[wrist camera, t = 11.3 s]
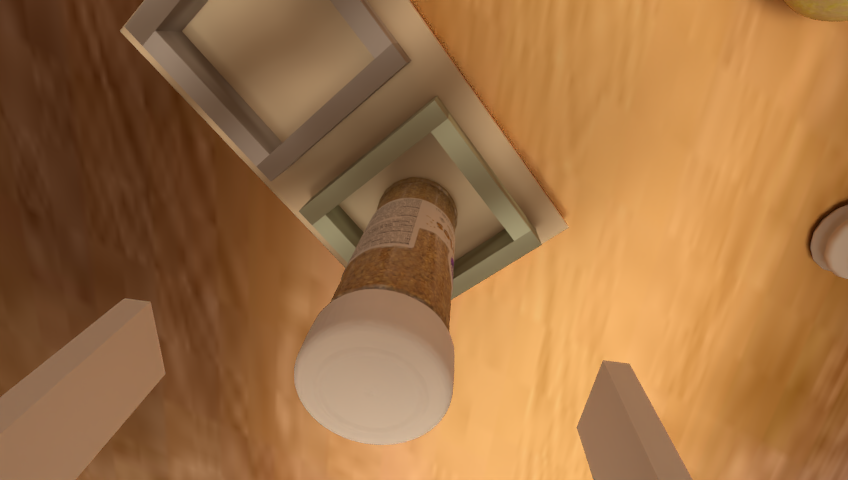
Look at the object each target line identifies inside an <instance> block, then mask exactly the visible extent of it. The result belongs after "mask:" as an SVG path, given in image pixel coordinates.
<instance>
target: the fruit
mask: <svg viewBox="0 0 848 480" xmlns="http://www.w3.org/2000/svg"><path fill="white" fill-rule="evenodd" d="M784 2H785V3H786V4H787V5H788V6H789V7H790V8H791V9H792V10H794V11H795V12H796V13H798V14H800V15H803V16H805V17H808V18H811V19H815V20H821V21H848V0H784Z"/></svg>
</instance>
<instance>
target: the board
mask: <svg viewBox="0 0 848 480" xmlns="http://www.w3.org/2000/svg"><path fill="white" fill-rule="evenodd" d="M120 32H121V33H122V34H123V35H124V36H125V37H126V38H127V39H128V40H129V41H130V42H131V43H132V44H133V45H134V46H135V48H136V49H137V50H138V51H139V52H140V53H141V54H142V55H143V56H144V57H145V58H146V59H147V60H148V61H149V62H150V63H151V64H152V65H153V66H154V67H155V69H156V70H157V71H158V72H159V73H160V74H161V75H162V76H163V77H164V78H165V79H166V80H167V81H168V82H169V83H170V84H171V85H172V86H173V87H174V89H175V90H176V91H177V92H178V93H179V94H180V95H181V96H182V97H183V98H184V99H185V100H186V101H187V102H188V103H189V104H190V105H191V106H192V107H193V108H194V110H195V111H196V112H197V113H198V114H199V115H200V116H201V117H202V118H203V119H204V120H205V121H206V122H207V123H208V124H209V125H210V126H211V127H212V128H213V129H214V131H215V132H216V133H217V134H218V135H219V136H220V137H221V138H222V139H223V140H224V141H225V142H226V143H227V144H228V145H229V146H230V147H231V148H232V149H233V150H234V152H235V153H236V154H237V155H238V156H239V157H240V158H241V159H242V160H243V161H244V162H245V163H246V164H247V165H248V166H249V167H250V168H251V169H252V170H253V171H254V173H255V174H256V175H257V176H258V177H259V178H260V179H261V180H262V181H263V182H264V183H265V184H266V185H267V186H268V187H269V188H270V189H271V190H272V191H273V192H274V194H275V195H276V196H277V197H278V198H279V199H280V200H281V201H282V202H283V203H284V204H285V205H286V206H287V207H288V208H289V209H290V210H291V211H292V212H293V214H294V215H295V216H296V217H297V218H298V219H299V220H300V221H301V222H302V223H303V224H304V225H305V226H306V227H307V228H308V229H309V230H310V231H311V232H312V233H313V235H314V236H315V237H316V238H317V239H318V240H319V241H320V242H321V243H322V244H323V245H324V246H325V247H326V248H327V249H328V250H329V251H330V252H331V253H332V254H333V256H334V257H335V258H336V259H337V260H338V261H339V262H340V263H341V264H342V265H343V266H344V267H345V268H346V266H347V264H348V262H349V260H350V258H351V257H352V255H353V253H354V251H355V249H356V247H357V245H358V243H359V241H360V239H361V237H362V235H363V233H364V231H365V229H366V227H367V226H368V224H369V222H370V220H371V218H372V216H373V215H374V214H375V212H376V211H377V207H378V204H379V201H380V199H381V197H382V195H383V194H384V192H385V190H386V189H387V188H388V187H390V186H391V185H392V184H393V183H395V182H398V181H400V180H402V179H407V178H410V177H418V178H425V179H429V180H431V181H434V182H436V183H438V184H440V185H441V186H442V187H443V188H445V189H446V190H447V191H448V193H449V194H450V196H451V197H452V199H453V200H454V202H455V205H456V209H457V213H458V215H457V226H456V229H455V232H454V233H455V254H454V268H453V291H452V297H451V300H452V299H453V298H455V297H457V296H458V295H460V294H461V293H463V292H465V291H466V290H468V289H470V288H471V287H473V286H475V285H476V284H478V283H480V282H481V281H483V280H484V279H486V278H488V277H489V276H491V275H493V274H494V273H496V272H498V271H499V270H501V269H503V268H504V267H506V266H507V265H509V264H511V263H512V262H514V261H516V260H517V259H519V258H521V257H522V256H524V255H525V254H527V253H529V252H530V251H532V250H534V249H535V248H537V247H539V246H540V245H542V244H543V243H544V242H546V241H547V240H549V239H551V238H552V237H554V236H556V235H557V234H559V233H561V232H562V231H564V230H566V229H567V228H569V227H568V225H567V223H566V222H565V220H564V218H563V217H562V216H561V214H560V213H559V211H558V210H557V208H556V207H555V206H554V204H553V203H552V201H551V200H550V198H549V197H548V196H547V194H546V193H545V191H544V190H543V189H542V187H541V186H540V184H539V183H538V181H537V180H536V179H535V177H534V176H533V174H532V173H531V171H530V170H529V169H528V167H527V166H526V164H525V163H524V162H523V160H522V159H521V157H520V156H519V154H518V153H517V152H516V150H515V149H514V147H513V146H512V144H511V143H510V142H509V140H508V139H507V137H506V136H505V135H504V133H503V132H502V130H501V129H500V127H499V126H498V125H497V123H496V122H495V120H494V119H493V118H492V116H491V115H490V113H489V112H488V110H487V109H486V108H485V106H484V105H483V103H482V102H481V100H480V99H479V98H478V96H477V95H476V93H475V92H474V91H473V89H472V88H471V86H470V85H469V83H468V82H467V81H466V79H465V78H464V76H463V75H462V73H461V72H460V71H459V69H458V68H457V66H456V65H455V64H454V62H453V61H452V59H451V58H450V56H449V55H448V54H447V52H446V51H445V49H444V48H443V47H442V45H441V44H440V42H439V41H438V39H437V38H436V37H435V35H434V34H433V32H432V31H431V29H430V28H429V27H428V25H427V24H426V22H425V21H424V20H423V18H422V17H421V15H420V14H419V12H418V11H417V10H416V8H415V7H414V5H413V4H412V2H411V1H410V0H144V1H143V2H142V4H141V5H140V6H139V7H138V9H137V10H136V11H135V13H134V14H133V15H132V16H131V18H130V19H129V20H128V21H127V23H126V24H125V25H124V27H123V28H122V29H121V30H120Z"/></svg>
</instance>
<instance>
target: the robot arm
mask: <svg viewBox="0 0 848 480" xmlns="http://www.w3.org/2000/svg"><path fill="white" fill-rule="evenodd" d="M164 375H165V369H164V364H163V359H162V354H161V350H160V345H159V340H158V335H157V330H156V325H155V320H154V316H153V311H152V306H151V302H149V301H142V300H134V299H126V298H124V299H123V300H122V301H120V302H119V303H118V304H117V305H115V306H114V307H113V308H112V309H110V310H109V311H108V312H107V313H105V314H104V315H103V316H101V317H100V318H99V319H98V320H96V321H95V322H94V323H93V324H91V325H90V326H89V327H88V328H86V329H85V330H84V331H83V332H81V333H80V334H79V335H78V336H76V337H75V338H74V339H73V340H71V341H70V342H69V343H68V344H66V345H65V346H64V347H63V348H61V349H60V350H59V351H58V352H56V353H55V354H54V355H53V356H51V357H50V358H49V359H48V360H46V361H45V362H44V363H43V364H41V365H40V366H39V367H38V368H36V369H35V370H34V371H33V372H31V373H30V374H29V375H28V376H26V377H25V378H24V379H23V380H21V381H20V382H19V383H18V384H16V385H15V386H14V387H13V388H11V389H10V390H9V391H8V392H6V393H5V394H4V395H3V396H1V397H0V480H76V478H77V477H78V476H79V475H80V474H81V472H82V471H83V470H84V469H85V468H86V467H87V465H88V464H89V463H90V462H91V461H92V460H93V458H94V457H95V456H96V455H97V454H98V452H99V451H100V450H101V449H102V448H103V447H104V445H105V444H106V443H107V442H108V441H109V440H110V438H111V437H112V436H113V435H114V434H115V432H116V431H117V430H118V429H119V428H120V427H121V425H122V424H123V423H124V422H125V421H126V420H127V418H128V417H129V416H130V415H131V414H132V412H133V411H134V410H135V409H136V408H137V407H138V405H139V404H140V403H141V402H142V401H143V400H144V398H145V397H146V396H147V395H148V394H149V393H150V391H151V390H152V389H153V388H154V387H155V385H156V384H157V383H158V382H159V381H160V380H161V378H162V377H163V376H164ZM577 429H578V433H579V436H580V439H581V442H582V445H583V448H584V451H585V454H586V458H587V461H588V464H589V467H590V470H591V473H592V476H593V479H594V480H692V478H691V476H690V474H689V472H688V471H687V469H686V467H685V465H684V463H683V461H682V460H681V458H680V456H679V454H678V452H677V450H676V449H675V447H674V445H673V443H672V441H671V439H670V437H669V436H668V434H667V432H666V430H665V428H664V426H663V425H662V423H661V421H660V419H659V417H658V415H657V414H656V412H655V410H654V408H653V406H652V404H651V402H650V401H649V399H648V397H647V395H646V393H645V391H644V390H643V388H642V386H641V384H640V382H639V380H638V379H637V377H636V375H635V373H634V371H633V369H632V368H631V366H630V364H627V363H619V362H611V361H604V360H603V362H602V364H601V367H600V369H599V372H598V374H597V377H596V380H595V382H594V385H593V387H592V390H591V392H590V395H589V398H588V400H587V403H586V405H585V408H584V410H583V413H582V415H581V418H580V421H579V423H578V426H577Z"/></svg>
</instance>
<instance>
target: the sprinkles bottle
mask: <svg viewBox="0 0 848 480" xmlns="http://www.w3.org/2000/svg"><path fill="white" fill-rule="evenodd" d="M457 215H458V213H457V209H456V205H455V202H454V200H453V199H452V197H451V196H450V194H449V193H448V191H447V190H446V189H445V188H443V187H442V186H441V185H440V184H438V183H436V182H434V181H431V180H429V179H425V178H418V177H410V178H407V179H402V180H400V181H398V182H395V183H393V184H392V185H391V186H390V187H388V188H387V189H386V190H385V192H384V194H383V195H382V197H381V199H380V201H379V204H378V207H377V211H376V212H375V214H374V215H373V216H372V218H371V220H370V222H369V224H368V226H367V227H366V229H365V231H364V233H363V235H362V237H361V239H360V241H359V243H358V245H357V247H356V249H355V251H354V253H353V255H352V257H351V258H350V260H349V262H348V264H347V266H346V268H345V270H344V273H343V275H342V278H341V282H340V284H339V286H338V288H337V290H336V292H335V294H334V296H333V298H332V300H331V302H330V303H329V304H328V305H327V306H326V307H325V308H324V309H323V310H322V311H321V312H320V313H319V315H318V316H317V318H316V320H315V321H314V323H313V325H312V327H311V328H310V330H309V332H308V334H307V336H306V338H305V340H304V342H303V345H302V347H301V349H300V351H299V353H298V356H297V358H296V363H295V367H294V382H295V387H296V390H297V393H298V396H299V398H300V400H301V402H302V404H303V405H304V407H305V408H306V410H307V411H308V412H309V413H310V415H311V416H312V417H313V418H314V419H315V420H316V421H318V422H319V423H320V424H321V425H323V426H324V427H325V428H327V429H329V430H330V431H332V432H333V433H335V434H338V435H340V436H342V437H344V438H346V439H349V440H353V441H356V442H360V443H366V444H375V445H390V444H398V443H403V442H407V441H410V440H413V439H416V438H418V437H420V436H422V435H424V434H426V433H427V432H429V431H430V430H431V429H433V428H434V427H435V426H436V425H437V424H438V423H439V422H440V421H441V419H442V418H443V417H444V415H445V414H446V412H447V410H448V408H449V405H450V402H451V398H452V393H453V382H454V346H453V342H452V339H451V336H450V332H449V321H450V306H451V297H452V291H453V268H454V254H455V233H454V232H455V229H456V226H457Z"/></svg>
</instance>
